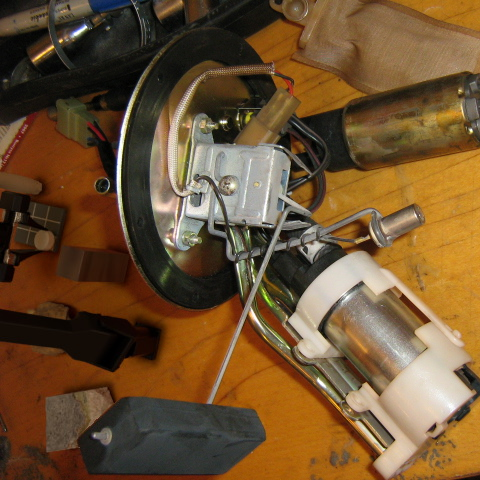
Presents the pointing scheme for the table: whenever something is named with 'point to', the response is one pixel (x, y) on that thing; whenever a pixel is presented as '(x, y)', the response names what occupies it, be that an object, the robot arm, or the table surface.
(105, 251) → the stand
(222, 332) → the table surface
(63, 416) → the geological specimen
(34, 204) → the board
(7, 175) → the handle
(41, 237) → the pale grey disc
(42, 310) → the decorative rock
